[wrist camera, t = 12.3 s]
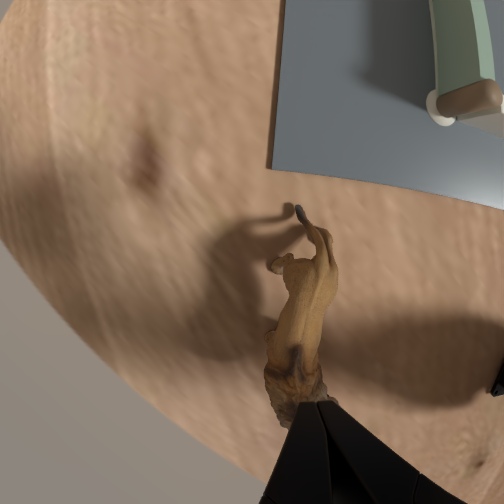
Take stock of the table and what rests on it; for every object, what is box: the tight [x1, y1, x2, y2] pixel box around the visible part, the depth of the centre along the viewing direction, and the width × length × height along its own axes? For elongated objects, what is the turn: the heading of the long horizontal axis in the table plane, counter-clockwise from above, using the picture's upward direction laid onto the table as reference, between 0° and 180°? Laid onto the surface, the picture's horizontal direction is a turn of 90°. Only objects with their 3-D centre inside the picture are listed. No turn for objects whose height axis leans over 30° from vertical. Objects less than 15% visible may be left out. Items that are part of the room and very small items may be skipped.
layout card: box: [272, 0, 504, 210], centre depth 16 cm, size 22×20×1 cm
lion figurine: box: [264, 205, 340, 430], centre depth 17 cm, size 12×4×7 cm, turn 2°
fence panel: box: [432, 0, 503, 118], centre depth 13 cm, size 12×2×5 cm, turn 174°
